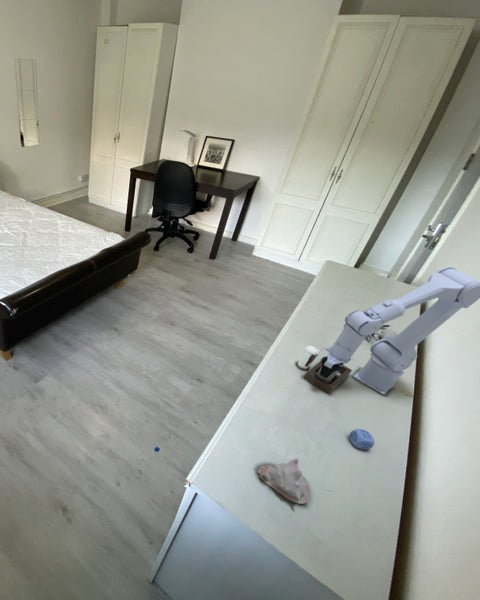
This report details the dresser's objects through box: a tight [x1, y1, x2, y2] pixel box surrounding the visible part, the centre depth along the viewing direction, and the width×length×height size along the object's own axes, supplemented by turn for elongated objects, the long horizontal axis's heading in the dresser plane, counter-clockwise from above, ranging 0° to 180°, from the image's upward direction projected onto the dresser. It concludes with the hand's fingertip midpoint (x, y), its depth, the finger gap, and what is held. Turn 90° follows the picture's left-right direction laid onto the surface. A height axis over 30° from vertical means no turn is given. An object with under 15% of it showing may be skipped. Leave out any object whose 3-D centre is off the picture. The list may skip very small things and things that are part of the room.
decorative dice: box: [349, 428, 375, 450], centre depth 94 cm, size 4×4×4 cm
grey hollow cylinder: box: [315, 357, 344, 384], centre depth 111 cm, size 4×4×10 cm
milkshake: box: [297, 345, 325, 370], centre depth 117 cm, size 4×5×10 cm
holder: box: [303, 355, 353, 395], centre depth 115 cm, size 8×16×3 cm, turn 124°
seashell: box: [257, 457, 310, 505], centre depth 81 cm, size 10×12×9 cm
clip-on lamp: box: [367, 324, 398, 342], centre depth 135 cm, size 12×6×18 cm
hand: (326, 373), depth 112 cm, fingers closed on grey hollow cylinder, 4 cm apart
